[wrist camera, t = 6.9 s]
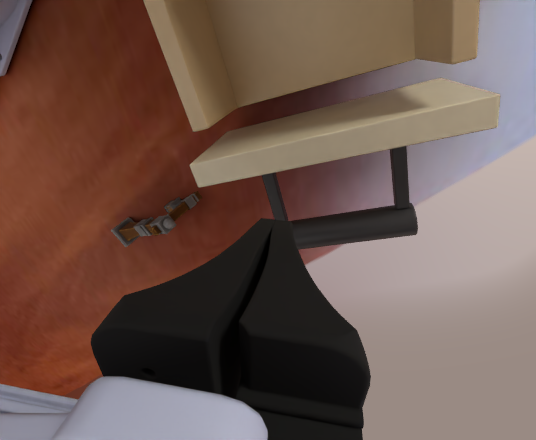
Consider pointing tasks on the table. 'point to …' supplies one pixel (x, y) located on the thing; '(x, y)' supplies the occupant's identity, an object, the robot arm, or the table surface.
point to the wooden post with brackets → (155, 221)
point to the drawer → (314, 74)
